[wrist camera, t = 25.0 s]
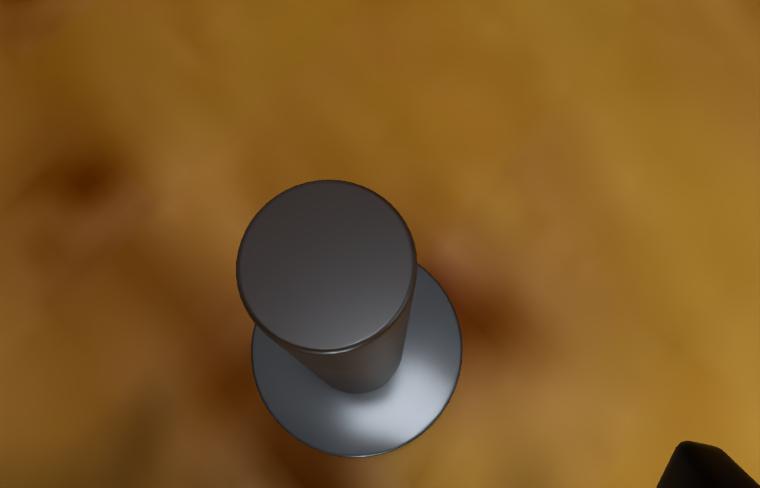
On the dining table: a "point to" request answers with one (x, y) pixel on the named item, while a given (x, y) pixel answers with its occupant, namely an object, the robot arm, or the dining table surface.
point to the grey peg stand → (345, 321)
